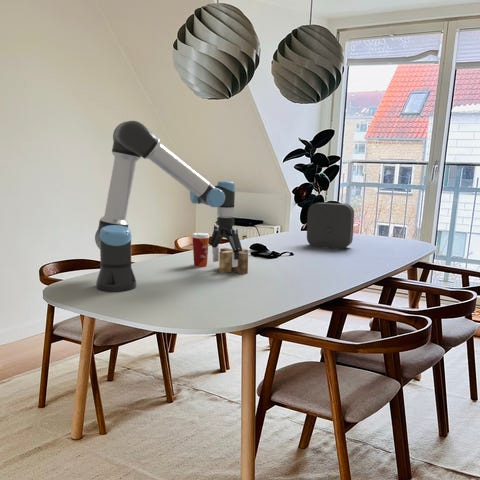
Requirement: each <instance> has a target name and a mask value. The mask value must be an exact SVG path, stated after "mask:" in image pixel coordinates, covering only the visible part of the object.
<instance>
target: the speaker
mask: <svg viewBox="0 0 480 480" xmlns="http://www.w3.org/2000/svg"><path fill="white" fill-rule="evenodd" d="M306 219H307V220H306V221H307V222H306V223H307V224H306V240H307V243H308V244H309V245H310V246H312V247H314V246H316V247H315V248H322V247H328V248H327V249H334V248H340V249H339V250H343V249H346V248H347V247H349V246H350V245H352V242H353V239H354V238H353V237H354V225H355V224H354V220H355V211H354V208H353V206H351V205H350V204H348V203H340V202H339V203H338V202H315V203H312V204H310V205H309V207H308V210H307V218H306Z"/></svg>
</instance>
